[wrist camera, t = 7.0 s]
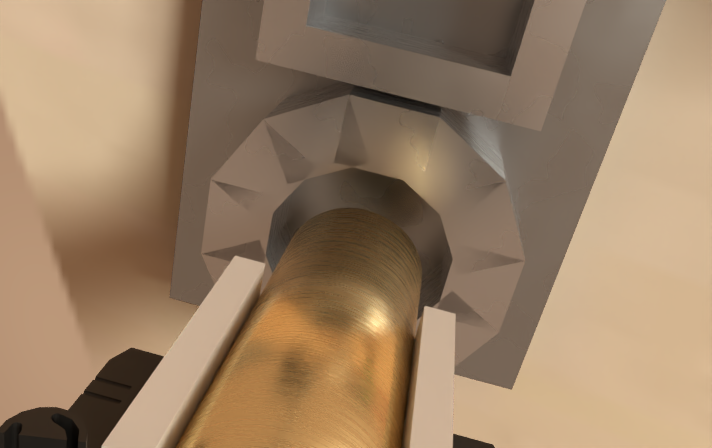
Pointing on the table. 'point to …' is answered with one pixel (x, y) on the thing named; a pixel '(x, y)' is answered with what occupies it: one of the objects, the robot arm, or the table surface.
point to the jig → (409, 142)
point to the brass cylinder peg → (322, 344)
